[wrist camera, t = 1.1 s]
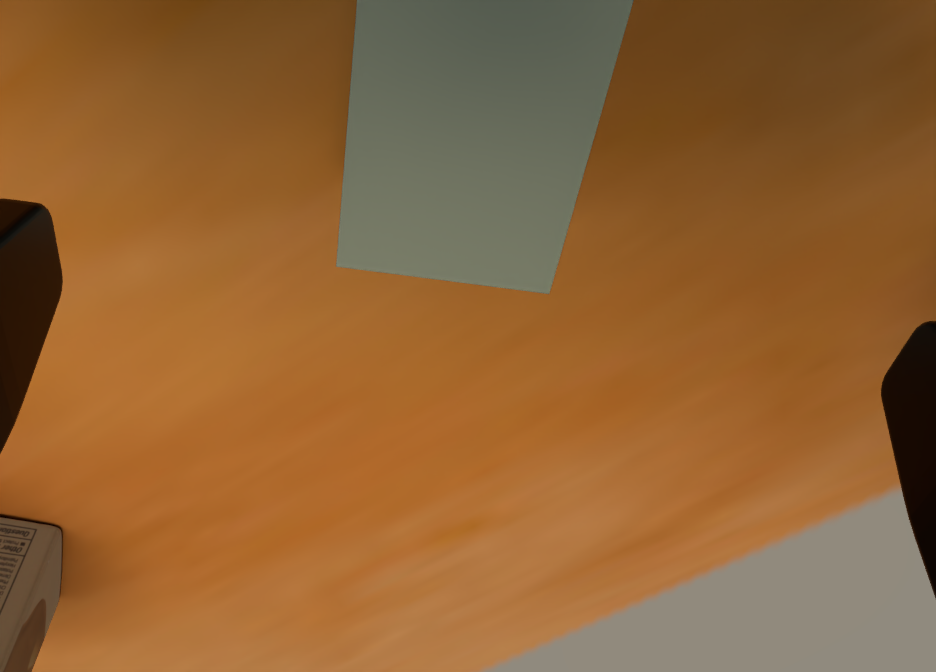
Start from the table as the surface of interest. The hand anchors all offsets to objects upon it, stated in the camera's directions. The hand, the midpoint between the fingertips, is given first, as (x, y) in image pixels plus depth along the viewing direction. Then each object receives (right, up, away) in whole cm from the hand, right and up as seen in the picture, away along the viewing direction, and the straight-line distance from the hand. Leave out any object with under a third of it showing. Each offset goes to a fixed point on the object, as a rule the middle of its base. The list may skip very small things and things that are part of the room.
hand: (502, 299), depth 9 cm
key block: (0, +6, +7) cm, 9 cm away
